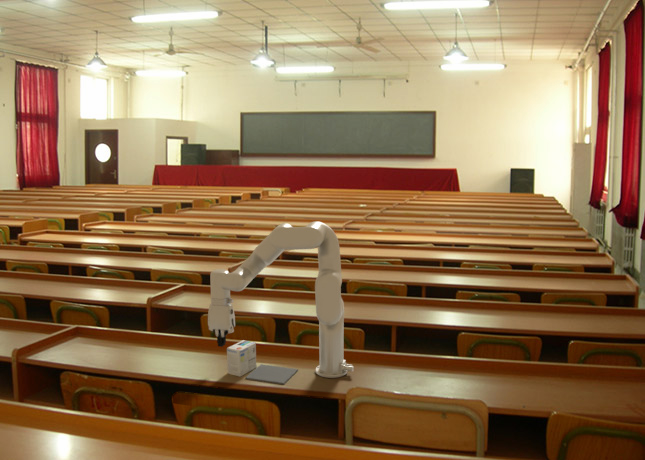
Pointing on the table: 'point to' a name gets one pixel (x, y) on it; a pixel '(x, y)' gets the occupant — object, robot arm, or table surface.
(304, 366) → the table surface
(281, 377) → the mat
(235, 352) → the light bulb box
